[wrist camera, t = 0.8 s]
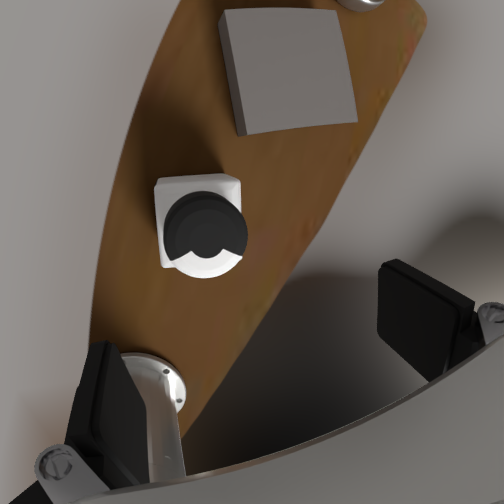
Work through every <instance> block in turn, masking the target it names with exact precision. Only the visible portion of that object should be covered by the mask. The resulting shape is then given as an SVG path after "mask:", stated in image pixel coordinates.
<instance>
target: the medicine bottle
mask: <svg viewBox="0 0 504 504" xmlns="http://www.w3.org/2000/svg"><path fill="white" fill-rule="evenodd" d="M154 196H155V209H156V220H157V231H158V241H159V251H160V259H161V265H162V267H164V268H170V267H176V268H177V269H178V270H180V271H181V272H183V273H185V274H187V275H189V276H192V277H197V278H211V277H216V276H218V275H221V274H223V273H225V272H227V271H228V270H230V269H231V268H232V267H234V266H235V265H236V264H237V262H238V261H239V260H241V259H242V255H243V253H244V251H245V248H246V245H247V240H248V231H247V226H246V222H245V220H244V217H243V216H242V214H241V184H240V181H239V180H238V179H236V178H234V177H231V176H229V175H227V174H223V173H221V174H204V175H189V176H176V177H164V178H158V180H157V182H156V184H155V187H154Z"/></svg>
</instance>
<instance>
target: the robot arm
mask: <svg viewBox="0 0 504 504" xmlns="http://www.w3.org/2000/svg"><path fill="white" fill-rule="evenodd" d="M474 306H475V302H474V301H473V300H471V299H469V298H468V297H466V296H464V295H462V294H461V293H459V292H457V291H455V290H454V289H452V288H450V287H448V286H447V285H445V284H443V283H441V282H439V281H437V280H436V279H434V278H432V277H430V276H429V275H426V274H425V273H423V272H421V271H419V270H418V269H416V268H414V267H411V266H410V265H408V264H406V263H404V262H402V261H400V260H399V259H393V260H390V261H387V262H384V263H383V264H382V265H381V268H380V269H379V271H378V317H377V332H378V334H379V336H380V338H381V339H382V340H384V341H385V342H386V343H387V344H388V345H389V346H390V347H391V348H392V349H393V350H395V351H396V352H397V353H398V354H399V355H400V356H401V357H402V358H403V359H404V360H405V361H407V362H408V363H409V364H410V365H411V366H412V367H413V368H414V369H415V370H416V371H417V372H419V373H420V374H421V375H422V376H423V377H424V378H425V379H426V380H427V381H428V382H429V383H428V384H426V385H424V386H423V387H421V388H419V389H417V390H416V391H414V392H412V393H410V394H408V395H407V396H405V397H403V398H401V399H399V400H397V401H396V402H394V403H392V404H390V405H388V406H386V407H384V408H382V409H380V410H378V411H376V412H374V413H372V414H370V415H368V416H366V417H364V418H362V419H360V420H357V421H355V422H353V423H351V424H349V425H347V426H344V427H342V428H340V429H337V430H335V431H332V432H330V433H328V434H325V435H323V436H320V437H318V438H316V439H313V440H311V441H307V442H305V443H302V444H299V445H297V446H294V447H291V448H288V449H286V450H282V451H280V452H277V453H274V454H271V455H267V456H264V457H261V458H258V459H254V460H251V461H248V462H244V463H240V464H237V465H233V466H230V467H225V468H221V469H217V470H213V471H209V472H204V473H200V474H196V475H191V476H186V475H185V469H184V463H183V456H182V449H181V443H180V435H179V427H178V419H177V413H178V412H179V410H180V409H181V408H182V406H183V405H184V403H185V399H186V387H185V382H184V380H183V378H182V376H181V374H180V373H179V372H178V370H177V369H176V368H174V367H173V366H172V365H171V364H170V363H168V362H166V361H165V360H163V359H161V358H159V357H156V356H153V355H150V354H145V353H138V352H133V353H122V354H120V353H119V351H118V348H117V346H116V345H115V344H114V343H112V344H110V342H109V341H108V340H105V341H100V342H96V343H92V344H91V345H90V348H89V351H88V355H87V358H86V362H85V365H84V369H83V373H82V377H81V380H80V384H79V386H78V388H77V390H76V393H75V397H74V401H73V405H72V410H71V414H70V419H69V423H68V428H67V433H66V438H65V442H64V444H57V445H53V446H50V447H48V448H46V449H45V450H44V451H43V452H42V453H40V455H39V456H38V458H37V459H36V462H35V466H34V467H35V474H36V477H37V479H38V480H37V481H36V482H35V483H34V484H32V485H31V486H30V487H29V488H27V489H26V490H25V491H24V492H22V493H21V494H20V495H19V496H17V497H16V498H15V499H14V500H13V501H11V502H10V503H9V504H504V304H501V303H498V302H488V303H484V304H482V305H481V306H480V307H479V308H478V311H477V313H476V312H475V311H474Z"/></svg>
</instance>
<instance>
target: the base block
mask: <svg viewBox="0 0 504 504" xmlns="http://www.w3.org/2000/svg"><path fill="white" fill-rule="evenodd" d="M218 29H219V35H220V40H221V45H222V51H223V56H224V62H225V67H226V73H227V78H228V84H229V89H230V95H231V100H232V106H233V111H234V117H235V122H236V128H237V134H238V136H244V135H250V134H256V133H263V132H270V131H276V130H284V129H291V128H299V127H308V126H317V125H327V124H337V123H349V122H358V119H357V112H356V105H355V99H354V93H353V87H352V82H351V76H350V71H349V66H348V61H347V56H346V51H345V47H344V42H343V38H342V33H341V29H340V25H339V21H338V17H337V13H336V11H335V10H323V9H308V8H245V9H229V10H224V12H223V14H222V16H221V18H220V20H219V22H218Z"/></svg>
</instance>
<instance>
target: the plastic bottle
mask: <svg viewBox="0 0 504 504" xmlns="http://www.w3.org/2000/svg"><path fill="white" fill-rule="evenodd" d="M337 1H338V3H340V4H341V5H342V6H344V7H345V8H347V9H349V10H352V11H356V12H366V11H370V10H373V9H375V8H376V7H378V6H379V5H380V4H382V3H383V2H384V1H385V0H337Z"/></svg>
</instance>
